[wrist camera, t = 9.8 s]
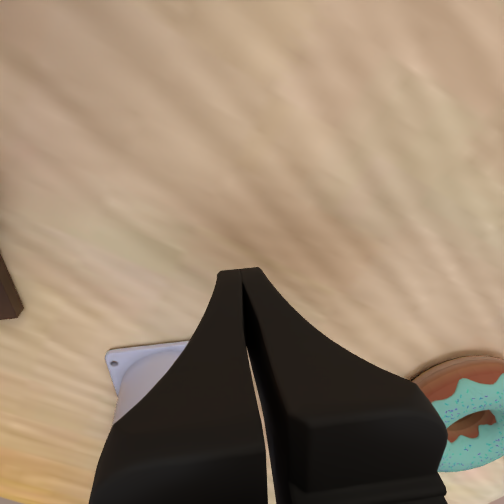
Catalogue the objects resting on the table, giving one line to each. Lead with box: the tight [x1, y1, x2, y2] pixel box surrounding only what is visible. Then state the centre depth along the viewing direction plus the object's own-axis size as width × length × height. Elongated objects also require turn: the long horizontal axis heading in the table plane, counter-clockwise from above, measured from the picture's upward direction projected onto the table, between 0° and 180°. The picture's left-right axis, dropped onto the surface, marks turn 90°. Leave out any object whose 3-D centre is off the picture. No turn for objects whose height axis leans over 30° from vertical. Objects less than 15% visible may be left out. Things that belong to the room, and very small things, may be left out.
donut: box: [411, 356, 504, 472], centre depth 32 cm, size 12×12×4 cm
